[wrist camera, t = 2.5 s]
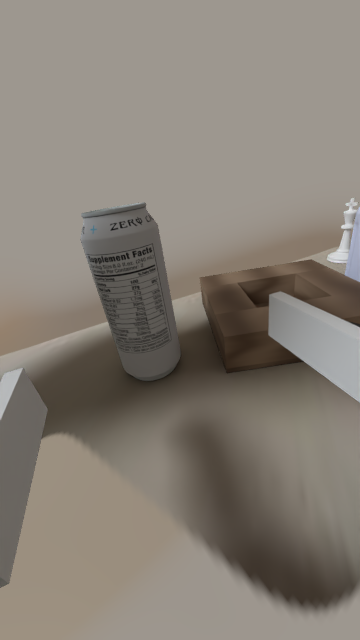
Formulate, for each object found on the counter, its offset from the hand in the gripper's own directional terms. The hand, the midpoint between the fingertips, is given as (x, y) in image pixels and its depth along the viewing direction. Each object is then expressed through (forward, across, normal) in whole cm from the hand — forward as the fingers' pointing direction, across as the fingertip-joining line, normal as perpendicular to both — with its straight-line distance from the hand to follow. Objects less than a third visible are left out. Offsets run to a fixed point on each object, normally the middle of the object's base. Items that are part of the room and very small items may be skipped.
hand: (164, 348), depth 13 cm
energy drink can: (+10, 0, -8) cm, 13 cm away
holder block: (+11, +16, -8) cm, 21 cm away
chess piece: (+22, +38, -8) cm, 45 cm away
